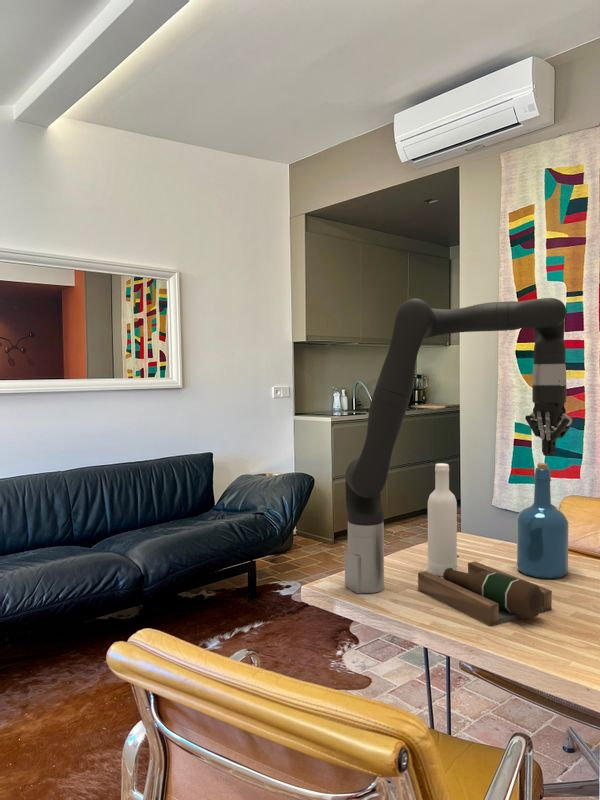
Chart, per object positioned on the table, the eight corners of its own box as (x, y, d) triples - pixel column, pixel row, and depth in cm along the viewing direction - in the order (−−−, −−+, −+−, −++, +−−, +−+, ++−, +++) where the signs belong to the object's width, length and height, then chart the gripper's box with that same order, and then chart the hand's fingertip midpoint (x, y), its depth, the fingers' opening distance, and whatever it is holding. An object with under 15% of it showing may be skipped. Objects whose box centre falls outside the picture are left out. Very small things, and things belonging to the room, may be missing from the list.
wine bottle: (564, 583, 159) (564, 468, 158) (511, 575, 166) (511, 465, 164) (571, 568, 171) (572, 461, 169) (522, 561, 178) (522, 458, 176)
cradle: (490, 626, 133) (490, 605, 133) (418, 590, 155) (418, 572, 155) (551, 609, 142) (551, 590, 141) (475, 577, 164) (475, 561, 164)
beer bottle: (528, 581, 133) (441, 556, 152) (520, 617, 131) (433, 587, 150) (546, 587, 137) (459, 562, 156) (539, 622, 136) (452, 592, 155)
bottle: (460, 576, 165) (460, 466, 163) (430, 576, 165) (430, 466, 164) (453, 567, 173) (453, 461, 171) (425, 567, 173) (425, 462, 172)
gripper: (516, 383, 150) (516, 453, 151) (561, 384, 138) (560, 460, 139) (538, 382, 153) (537, 451, 154) (584, 383, 141) (583, 457, 142)
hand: (548, 455), depth 146 cm, fingers closed
